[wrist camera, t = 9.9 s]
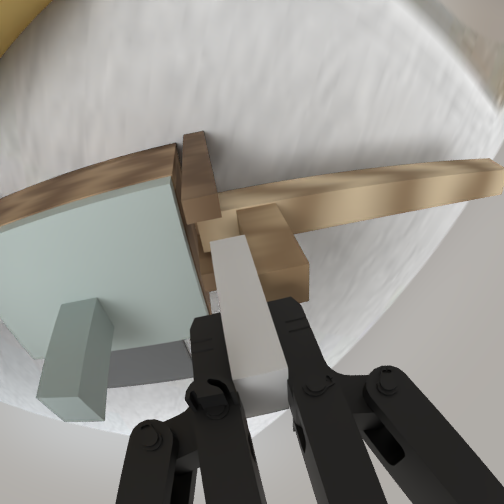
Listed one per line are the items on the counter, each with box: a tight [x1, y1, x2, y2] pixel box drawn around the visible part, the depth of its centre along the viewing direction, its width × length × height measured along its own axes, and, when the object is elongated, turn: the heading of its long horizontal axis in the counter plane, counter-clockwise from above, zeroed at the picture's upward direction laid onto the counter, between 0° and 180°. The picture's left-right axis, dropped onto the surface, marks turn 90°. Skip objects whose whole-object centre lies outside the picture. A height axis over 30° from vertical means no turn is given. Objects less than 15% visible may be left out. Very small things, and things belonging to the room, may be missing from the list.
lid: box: [0, 176, 209, 422], centre depth 17 cm, size 18×13×9 cm
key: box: [197, 158, 504, 303], centre depth 16 cm, size 23×2×7 cm, turn 96°
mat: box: [107, 340, 194, 388], centre depth 35 cm, size 20×15×1 cm
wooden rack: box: [0, 131, 222, 315], centre depth 21 cm, size 23×14×12 cm, turn 96°
